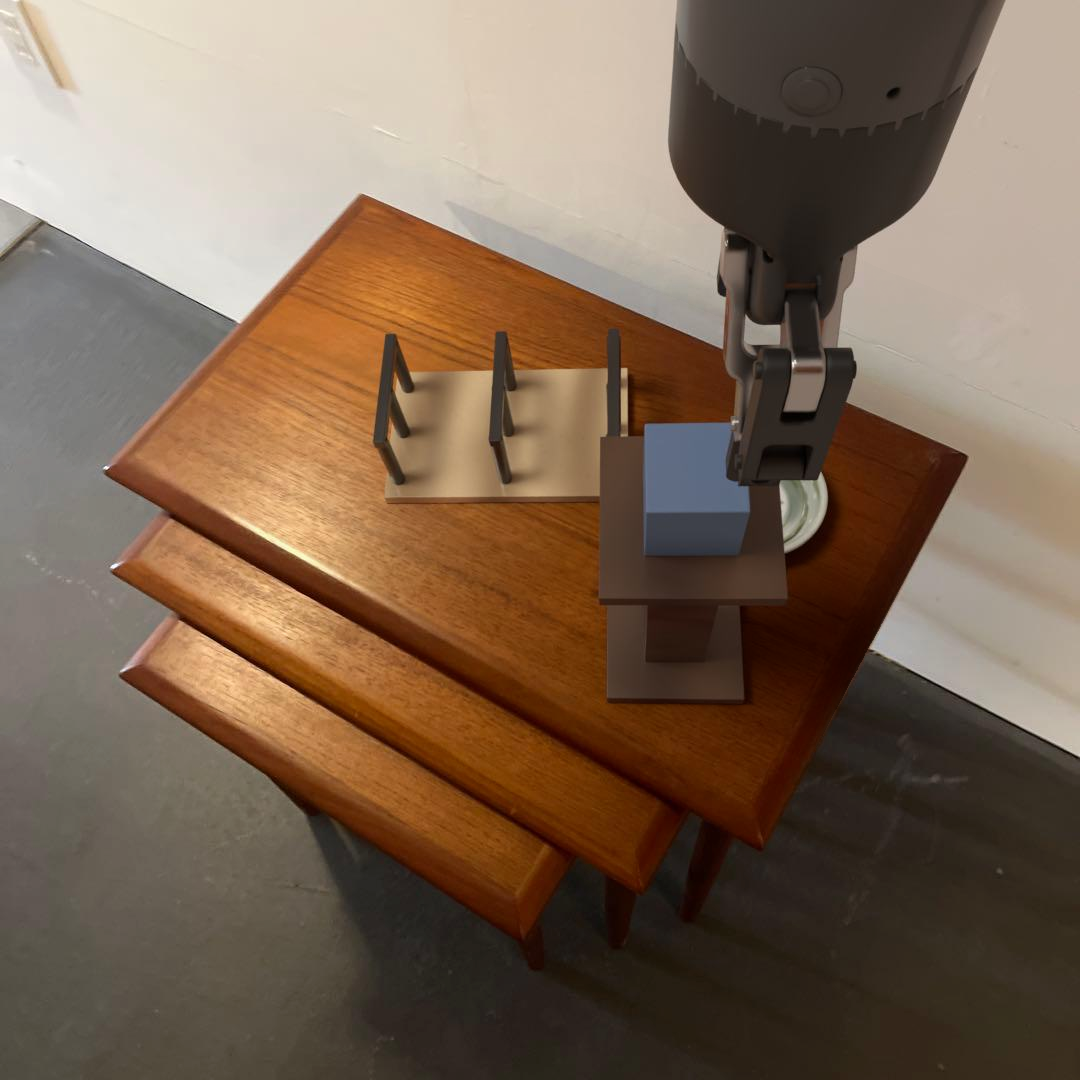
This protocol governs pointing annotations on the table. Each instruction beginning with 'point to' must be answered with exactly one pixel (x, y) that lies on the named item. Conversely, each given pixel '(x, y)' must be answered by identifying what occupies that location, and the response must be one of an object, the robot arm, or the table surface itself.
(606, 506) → the stand
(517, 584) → the table surface
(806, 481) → the saucer
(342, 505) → the table surface
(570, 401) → the rack
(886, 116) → the robot arm
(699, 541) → the block
